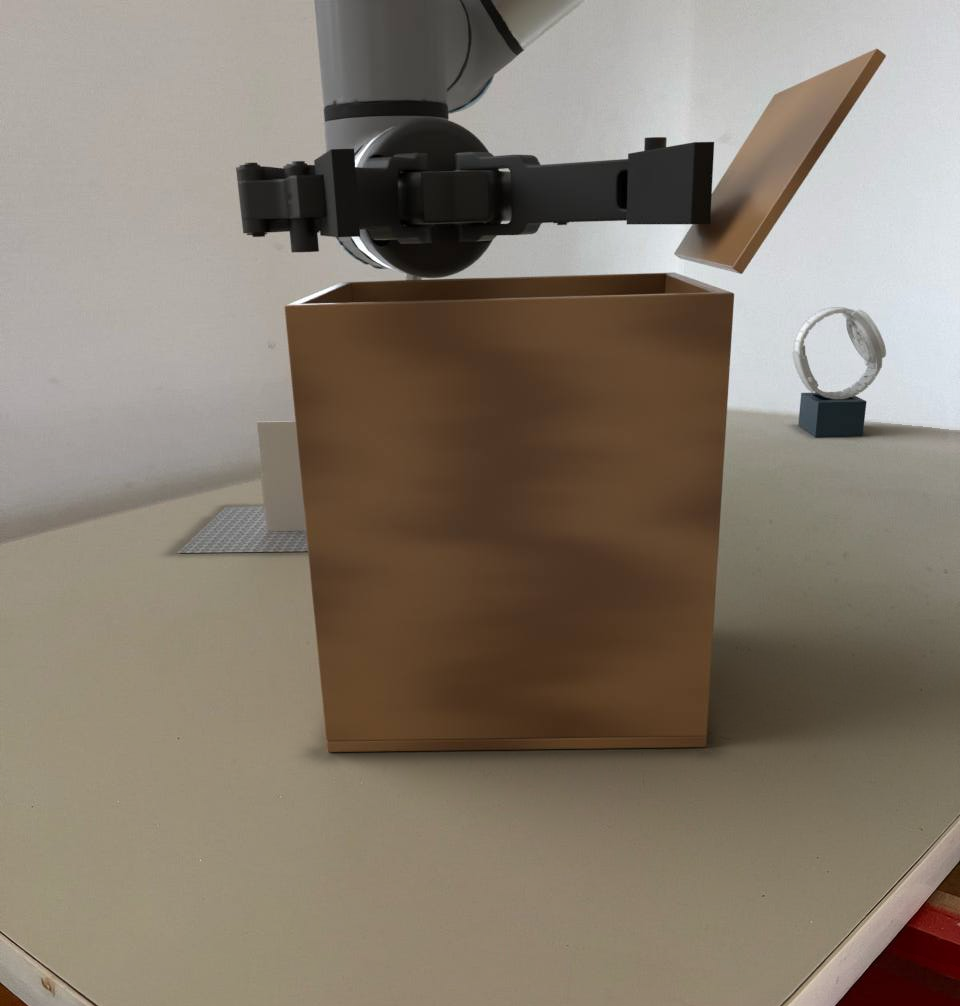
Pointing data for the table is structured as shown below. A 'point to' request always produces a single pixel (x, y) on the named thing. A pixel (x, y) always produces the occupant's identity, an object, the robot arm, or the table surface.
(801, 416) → the watch
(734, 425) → the table surface
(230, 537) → the architectural model
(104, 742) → the table surface
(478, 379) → the carton
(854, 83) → the flap
